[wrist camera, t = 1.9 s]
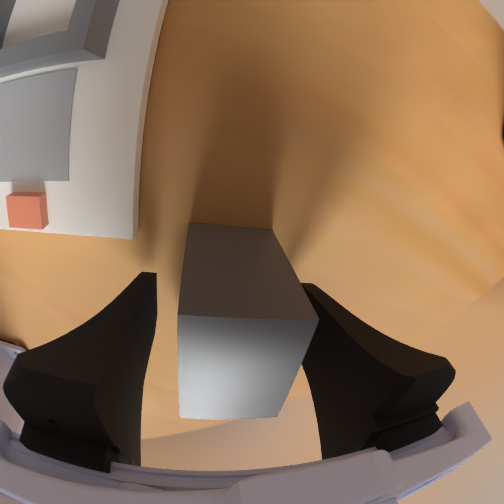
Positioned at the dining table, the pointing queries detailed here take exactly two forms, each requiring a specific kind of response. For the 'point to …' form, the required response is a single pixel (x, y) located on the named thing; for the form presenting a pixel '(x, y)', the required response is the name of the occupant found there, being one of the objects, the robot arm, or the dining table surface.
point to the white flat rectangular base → (74, 113)
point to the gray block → (239, 324)
